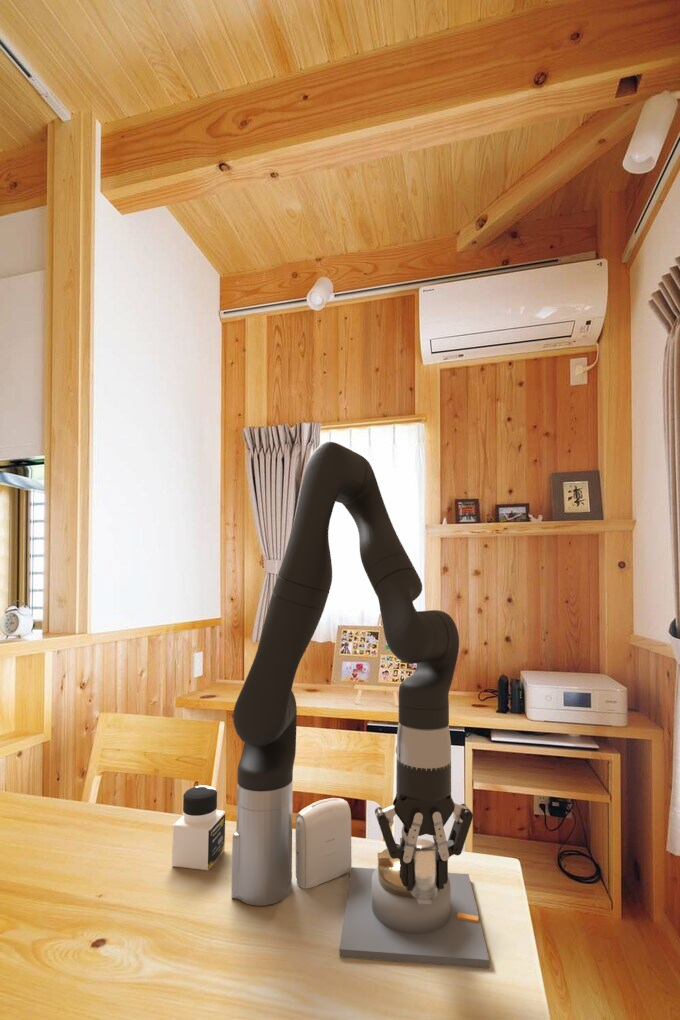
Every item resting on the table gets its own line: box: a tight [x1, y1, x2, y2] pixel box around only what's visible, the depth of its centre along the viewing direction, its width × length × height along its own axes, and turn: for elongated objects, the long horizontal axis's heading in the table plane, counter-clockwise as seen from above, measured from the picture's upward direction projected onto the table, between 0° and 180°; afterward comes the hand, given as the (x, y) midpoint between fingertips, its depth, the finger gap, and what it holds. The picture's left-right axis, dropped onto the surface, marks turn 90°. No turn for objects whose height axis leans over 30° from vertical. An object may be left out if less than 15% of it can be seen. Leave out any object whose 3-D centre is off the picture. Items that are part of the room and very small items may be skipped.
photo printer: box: [295, 797, 352, 890], centre depth 93 cm, size 10×4×12 cm, turn 124°
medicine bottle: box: [171, 784, 226, 871], centre depth 99 cm, size 7×7×12 cm
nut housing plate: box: [339, 866, 490, 969], centre depth 83 cm, size 20×20×5 cm
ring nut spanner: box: [377, 837, 440, 904], centre depth 80 cm, size 17×10×10 cm, turn 3°
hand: (423, 885), depth 74 cm, fingers closed on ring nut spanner, 3 cm apart
